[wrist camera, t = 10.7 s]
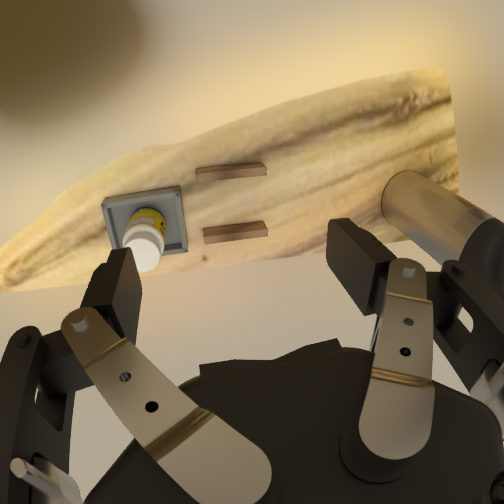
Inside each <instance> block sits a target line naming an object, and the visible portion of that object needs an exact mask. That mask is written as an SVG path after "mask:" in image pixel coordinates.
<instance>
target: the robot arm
mask: <svg viewBox="0 0 504 504" xmlns="http://www.w3.org/2000/svg"><path fill="white" fill-rule="evenodd" d="M382 212H383V214H384V217H385V218H386V219H387V220H388V221H389V222H390V223H391V224H392V225H394V226H395V227H396V228H397V229H399V230H400V231H401V232H402V233H403V234H405V235H406V236H407V237H408V238H410V239H411V240H412V241H413V242H414V243H416V244H417V245H418V246H419V247H420V248H422V249H423V250H424V251H425V252H426V253H428V254H429V255H430V256H431V257H432V258H433V259H435V260H436V261H437V262H438V263H439V264H440V265H441V266H442V269H441V271H440V272H426V270H425V268H424V267H423V266H422V265H421V264H420V263H419V262H417V261H414V260H412V259H408V258H397V257H396V256H395V255H394V254H393V253H392V252H391V251H390V250H389V249H388V248H387V247H385V245H382V243H381V242H380V241H379V240H377V238H376V237H375V236H374V235H373V234H371V233H370V232H369V231H367V230H364V229H362V228H360V227H358V226H357V225H356V224H354V223H353V222H352V221H351V220H350V219H349V218H338V219H331V220H330V221H329V223H328V233H327V246H326V259H327V263H328V266H329V267H330V269H331V270H332V271H333V273H334V274H335V275H336V277H337V278H338V280H339V281H340V282H341V284H342V285H343V287H344V288H345V289H346V291H347V292H348V294H349V295H350V296H351V298H352V299H353V301H354V302H355V304H356V305H357V306H358V308H359V309H360V311H361V312H362V313H363V315H364V316H367V315H371V314H375V313H376V314H377V319H376V322H375V327H374V332H373V336H372V340H371V345H370V348H369V351H367V350H363V349H359V348H349V347H341V345H340V343H339V341H338V339H337V338H335V339H332V340H327V341H323V342H319V343H315V344H310V345H306V346H304V347H301V348H299V349H297V350H295V351H292V352H290V353H288V354H286V355H284V356H281V357H279V358H277V359H274V360H236V359H234V360H228V361H222V362H215V363H209V364H201V365H199V367H200V375H199V376H197V377H194V378H192V379H190V380H188V381H186V382H184V383H183V384H181V385H180V386H179V387H177V386H175V385H174V384H173V383H172V382H171V381H170V380H169V379H168V378H167V377H166V376H165V375H163V373H162V372H161V371H160V370H159V369H157V368H156V367H155V366H154V365H153V364H152V363H151V362H150V361H149V360H148V359H147V358H146V357H145V356H144V355H143V354H142V353H141V352H140V351H139V350H138V349H137V347H136V346H135V344H136V335H137V327H138V319H139V312H140V305H141V298H142V286H141V280H140V277H139V274H138V270H137V267H136V263H135V259H134V256H133V252H132V250H131V248H130V247H125V248H118V249H112V250H111V252H110V255H109V257H108V260H107V263H102V264H100V266H99V267H98V268H97V269H96V270H95V271H94V272H93V275H92V277H91V281H90V282H89V285H88V288H87V290H86V292H85V295H84V297H83V300H82V303H81V306H80V308H78V309H76V310H74V311H72V312H70V313H69V314H68V315H67V316H66V317H65V318H64V319H63V321H62V323H61V330H58V331H55V332H53V333H50V334H47V335H44V336H42V334H41V333H40V331H39V329H38V328H37V327H35V326H26V327H23V328H21V329H19V330H18V331H16V332H15V333H14V334H13V336H11V338H10V340H9V342H8V344H7V347H6V349H5V352H4V354H3V357H2V360H1V362H0V504H504V447H503V441H504V223H503V222H501V221H500V220H498V219H496V218H495V217H493V216H492V215H490V214H489V213H487V212H485V211H484V210H482V209H480V208H479V207H477V206H475V205H474V204H472V203H471V202H469V201H467V200H465V199H464V198H462V197H460V196H459V195H457V194H455V193H453V192H452V191H450V190H448V189H446V188H444V187H442V186H441V185H439V184H437V183H435V182H433V181H431V180H430V179H428V178H426V177H424V176H422V175H420V174H418V173H416V172H413V171H404V172H401V173H399V174H397V175H396V176H394V177H393V178H392V179H391V181H390V182H389V183H388V185H387V186H386V188H385V191H384V193H383V197H382ZM462 306H463V307H464V309H465V310H466V311H467V312H468V313H469V314H470V316H471V317H472V319H473V324H474V325H473V330H472V332H471V333H470V332H469V331H468V330H467V328H466V327H465V326H464V325H463V324H462V322H461V321H460V320H459V319H458V315H459V313H460V311H461V308H462ZM433 339H434V341H435V342H436V344H437V345H438V346H439V348H440V349H441V351H442V352H443V354H444V355H445V356H446V358H447V359H448V361H449V362H450V364H451V365H452V367H453V368H454V370H455V371H456V373H457V374H458V376H459V378H460V379H461V381H462V382H463V384H464V385H465V387H466V388H467V390H468V392H469V393H470V396H468V395H465V394H463V393H461V392H459V391H456V390H454V389H452V388H449V387H447V386H445V385H443V384H440V383H438V382H436V381H434V380H432V379H431V378H432V361H433ZM92 385H95V386H96V388H97V389H98V391H99V392H100V393H101V395H102V396H103V398H104V399H105V400H106V402H107V403H108V404H109V406H110V407H111V408H112V410H113V411H114V412H115V414H116V415H117V416H118V418H119V419H120V420H121V421H122V422H123V424H124V425H125V426H126V428H127V429H128V430H129V431H130V433H131V434H132V435H133V436H134V437H135V438H134V439H133V440H132V441H131V443H130V444H129V445H128V446H127V447H126V449H125V450H124V451H123V453H122V454H121V455H120V456H119V457H118V459H117V460H116V461H115V462H114V464H113V465H112V466H111V467H110V469H109V470H108V471H107V472H106V473H105V475H104V476H103V477H102V478H101V480H100V481H99V482H98V483H97V484H96V486H95V487H94V488H93V489H92V490H91V492H90V493H89V494H88V496H87V497H86V499H85V501H84V503H83V502H82V499H81V497H80V490H79V487H78V485H77V483H76V482H75V480H74V479H73V478H72V477H70V476H69V453H70V437H71V425H72V415H73V406H74V398H75V391H77V390H81V389H84V388H87V387H90V386H92ZM36 388H37V389H38V393H37V398H36V403H35V393H36Z"/></svg>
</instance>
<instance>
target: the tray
mask: <svg viewBox="0 0 504 504" xmlns="http://www.w3.org/2000/svg"><path fill="white" fill-rule="evenodd" d="M101 206H102V211H103V215H104V219H105V223H106V227H107V231H108V235H109V238H110V242H111V246H112V249H118V248H123V237H124V234H125V231H126V228H127V226H128V223H129V220H130V217H131V215H132V214H133V212H134V211H135V210H137V209H138V208H140V207H143V206H152V207H155V208H157V209H159V210H160V211H161V212H162V213H163V215H164V217H165V220H166V233H165V246H164V251H163V253H162V255H161V256H163V255H170V254H177V253H184V252H188V242H187V235H186V229H185V222H184V215H183V208H182V201H181V193H180V186H177V187H170V188H163V189H156V190H150V191H143V192H137V193H131V194H125V195H119V196H114V197H108V198H105V199H104V201H103V202H102V204H101Z"/></svg>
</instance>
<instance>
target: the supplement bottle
mask: <svg viewBox="0 0 504 504" xmlns="http://www.w3.org/2000/svg"><path fill="white" fill-rule="evenodd" d="M165 233H166V220H165V217H164V215H163V213H162V212H161V211H160V210H159V209H157V208H155V207H152V206H143V207H140V208H138V209H137V210H135V211H134V212H133V214H132V215H131V217H130V220H129V223H128V226H127V228H126V231H125V234H124V237H123V248H125V247H130V248H131V250H132V252H133V256H134V259H135V263H136V267H137V270H138V272H148V271H151V270H153V269H154V268H155V267H156V266H157V265H158V263H159V261H160V257H161V255H162V253H163V251H164V246H165Z"/></svg>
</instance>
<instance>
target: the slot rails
mask: <svg viewBox="0 0 504 504" xmlns="http://www.w3.org/2000/svg"><path fill="white" fill-rule="evenodd" d="M196 174H197V182H198V183H199V182H207V181H215V180H224V179H233V178H243V177H253V176H265V175H267V167H266V166H265V165H264V164H263V163H262V162H258V163H246V164H235V165H225V166H216V167H207V168H199V169H196ZM203 236H204V243H205V244H212V243H219V242H227V241H234V240H242V239H249V238H257V237H265V236H268V229H267V227H266V225H265V223H264V222H263V221H258V222H250V223H242V224H234V225H226V226H218V227H211V228H203Z"/></svg>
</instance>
